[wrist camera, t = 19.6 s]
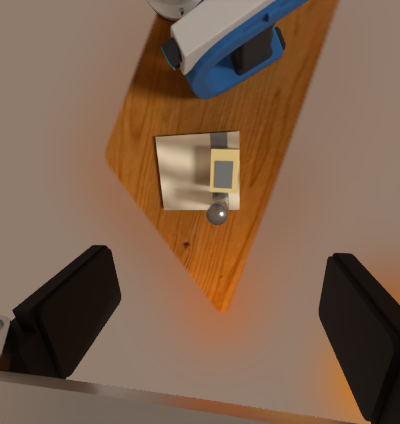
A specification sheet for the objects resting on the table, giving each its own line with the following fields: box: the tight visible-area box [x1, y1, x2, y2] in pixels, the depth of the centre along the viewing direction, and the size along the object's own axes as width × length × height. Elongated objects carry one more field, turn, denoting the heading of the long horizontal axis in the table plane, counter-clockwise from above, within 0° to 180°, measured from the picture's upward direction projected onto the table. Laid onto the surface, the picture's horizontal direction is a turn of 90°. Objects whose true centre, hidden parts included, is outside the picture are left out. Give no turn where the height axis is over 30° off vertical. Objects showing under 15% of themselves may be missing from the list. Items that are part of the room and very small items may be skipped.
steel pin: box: [206, 193, 228, 225], centre depth 37 cm, size 3×3×9 cm
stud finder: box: [210, 148, 240, 193], centre depth 37 cm, size 7×4×4 cm, turn 179°
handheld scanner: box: [161, 0, 308, 99], centre depth 25 cm, size 5×16×20 cm, turn 118°
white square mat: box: [155, 131, 239, 210], centre depth 41 cm, size 14×15×1 cm
